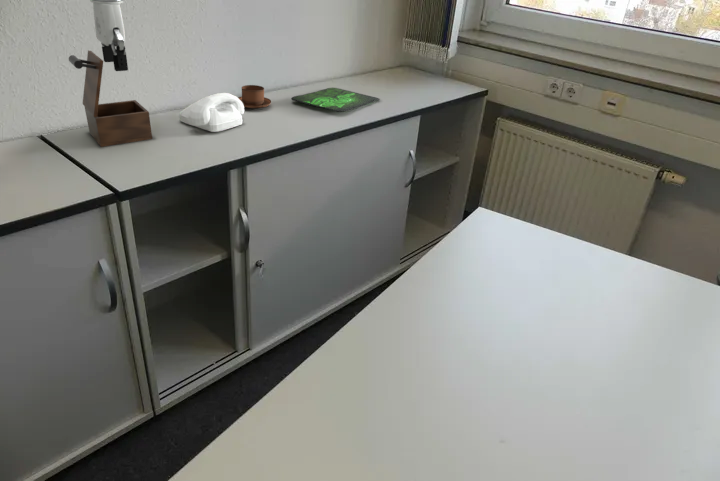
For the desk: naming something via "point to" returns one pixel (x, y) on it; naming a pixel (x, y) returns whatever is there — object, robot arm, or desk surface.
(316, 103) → the mouse mat
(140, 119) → the box
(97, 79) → the lid
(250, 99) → the cup and saucer
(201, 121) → the telephone
